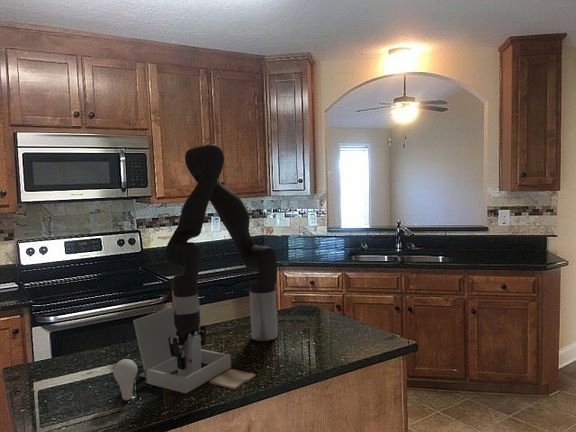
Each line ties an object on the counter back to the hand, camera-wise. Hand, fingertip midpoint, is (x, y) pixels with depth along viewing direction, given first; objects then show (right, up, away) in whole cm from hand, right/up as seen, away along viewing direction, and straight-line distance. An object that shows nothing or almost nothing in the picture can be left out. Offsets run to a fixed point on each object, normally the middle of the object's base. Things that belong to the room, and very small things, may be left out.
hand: (189, 365), depth 144 cm
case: (0, -3, 0) cm, 3 cm away
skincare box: (0, -3, 0) cm, 3 cm away
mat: (+13, -3, -4) cm, 14 cm away
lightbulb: (-14, -5, -15) cm, 21 cm away
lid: (-8, +8, +4) cm, 12 cm away
